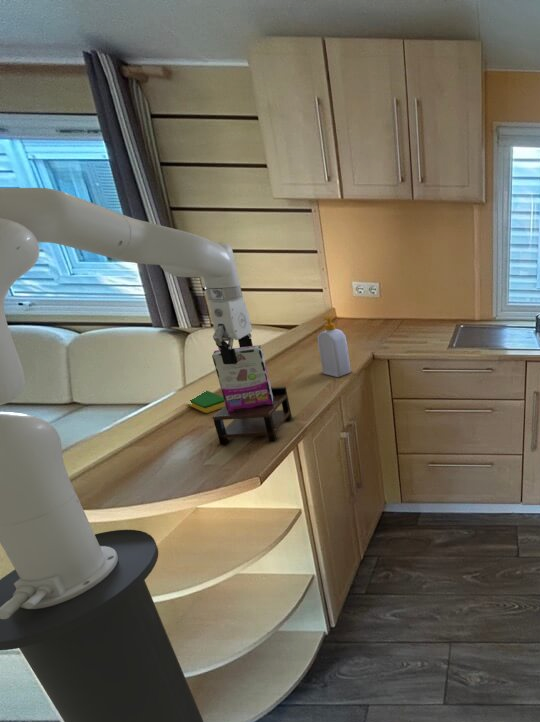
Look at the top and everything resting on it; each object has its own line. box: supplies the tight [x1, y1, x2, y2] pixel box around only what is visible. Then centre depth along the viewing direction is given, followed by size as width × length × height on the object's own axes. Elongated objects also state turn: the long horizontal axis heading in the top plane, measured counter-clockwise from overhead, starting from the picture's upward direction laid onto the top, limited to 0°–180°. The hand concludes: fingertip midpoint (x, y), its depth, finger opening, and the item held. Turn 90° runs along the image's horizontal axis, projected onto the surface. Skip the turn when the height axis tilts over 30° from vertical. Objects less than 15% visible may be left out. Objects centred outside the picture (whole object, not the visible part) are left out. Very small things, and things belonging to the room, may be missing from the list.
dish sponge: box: [187, 390, 226, 414], centre depth 133 cm, size 7×14×2 cm, turn 59°
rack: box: [212, 386, 293, 446], centre depth 115 cm, size 14×14×10 cm
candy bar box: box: [211, 344, 273, 412], centre depth 110 cm, size 11×5×16 cm, turn 117°
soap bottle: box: [317, 315, 352, 378], centre depth 157 cm, size 9×7×23 cm
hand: (239, 357), depth 108 cm, fingers open, 9 cm apart
